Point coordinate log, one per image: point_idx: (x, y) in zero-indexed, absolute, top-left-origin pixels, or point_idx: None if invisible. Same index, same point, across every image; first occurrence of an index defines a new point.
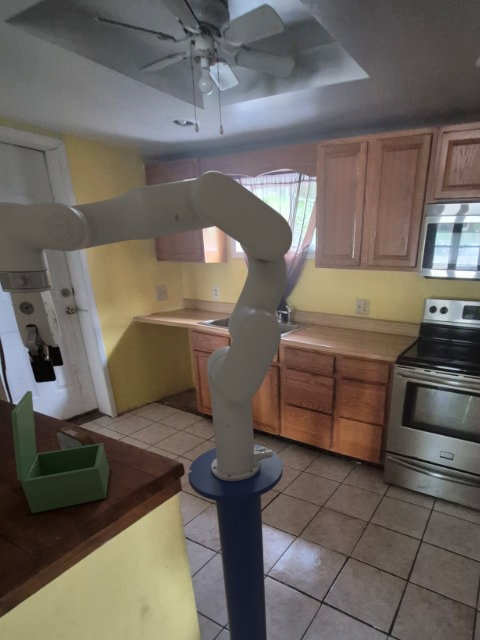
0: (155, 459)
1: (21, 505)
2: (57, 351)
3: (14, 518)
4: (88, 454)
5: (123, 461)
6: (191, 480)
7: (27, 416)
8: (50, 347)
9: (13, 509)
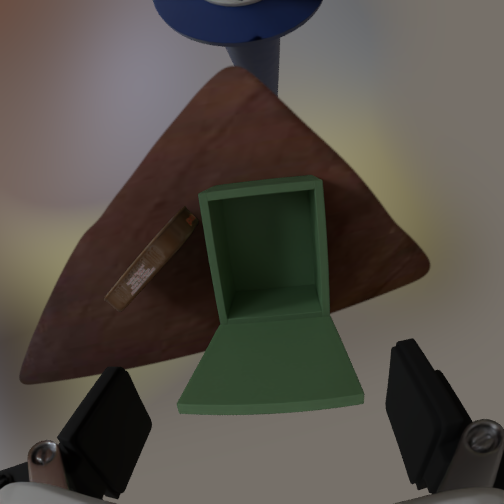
0: (190, 100)
1: None
2: (92, 431)
3: None
4: (215, 223)
5: (182, 165)
6: (262, 36)
7: (255, 373)
8: (93, 471)
9: None
